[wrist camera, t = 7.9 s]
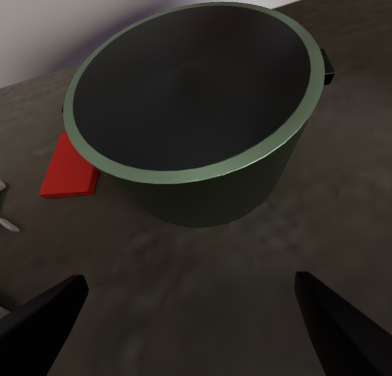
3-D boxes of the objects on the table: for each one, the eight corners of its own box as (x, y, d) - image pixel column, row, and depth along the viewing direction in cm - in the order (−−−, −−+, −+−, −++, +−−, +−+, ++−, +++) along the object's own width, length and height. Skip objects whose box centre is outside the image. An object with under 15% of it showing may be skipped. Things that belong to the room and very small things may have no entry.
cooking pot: (314, 222, 15) (404, 166, 7) (105, 231, 17) (7, 196, 10) (276, 84, 22) (302, -20, 14) (129, 105, 24) (83, 25, 16)
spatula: (87, 76, 28) (79, 64, 27) (122, 71, 27) (116, 58, 26) (45, 198, 20) (29, 191, 18) (93, 194, 19) (81, 187, 18)
